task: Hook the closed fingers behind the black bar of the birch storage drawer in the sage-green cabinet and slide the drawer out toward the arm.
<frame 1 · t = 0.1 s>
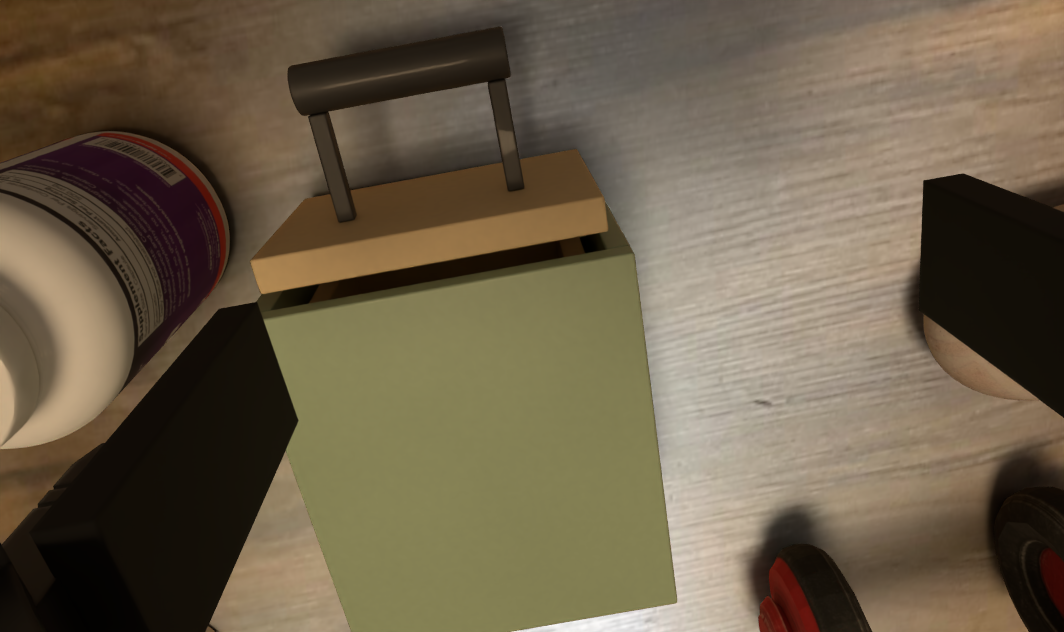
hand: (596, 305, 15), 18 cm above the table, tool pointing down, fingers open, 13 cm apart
decorative stone: (1032, 276, 35), on the table
cabinet: (483, 356, 35), on the table
headphones: (897, 546, 41), on the table
drawer: (457, 300, 29), point 5 cm above the table, slide at 0.5 cm
pill bottle: (142, 221, 32), on the table
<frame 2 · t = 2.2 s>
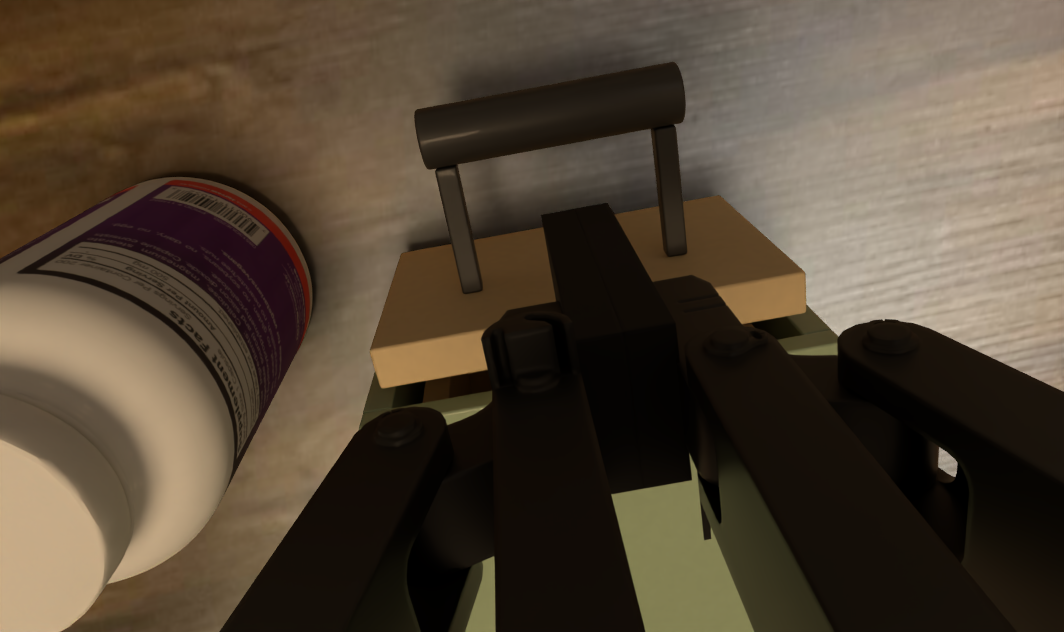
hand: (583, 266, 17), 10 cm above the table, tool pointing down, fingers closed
cabinet: (591, 424, 31), on the table
drawer: (589, 377, 24), point 5 cm above the table, slide at 0.5 cm
pill bottle: (209, 276, 28), on the table
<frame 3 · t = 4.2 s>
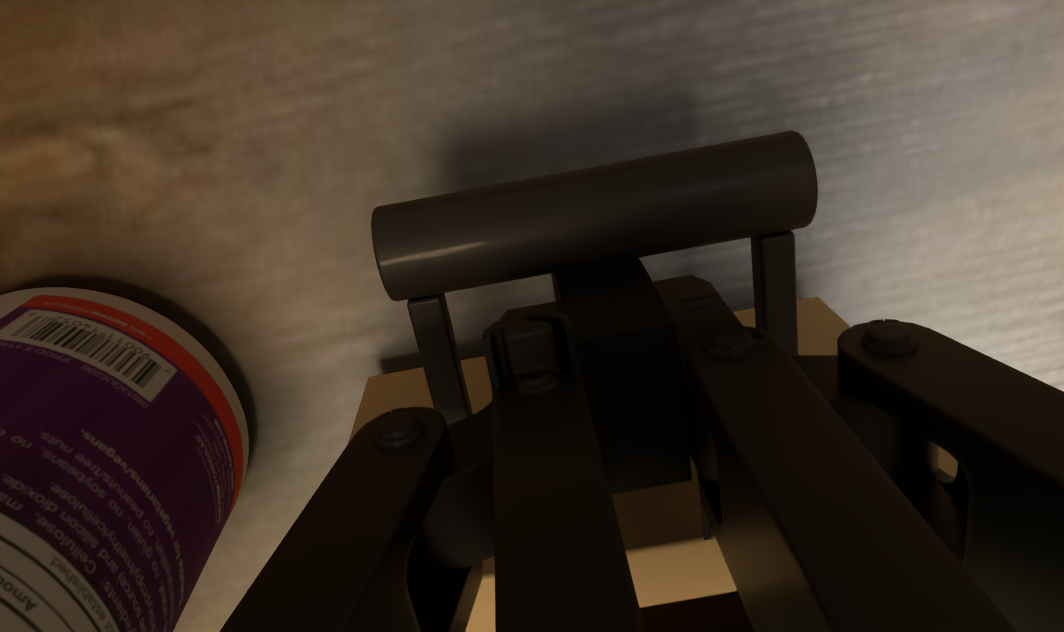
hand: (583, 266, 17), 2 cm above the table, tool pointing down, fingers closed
drawer: (638, 572, 17), point 5 cm above the table, slide at 0.8 cm, touching gripper
pill bottle: (109, 410, 20), on the table
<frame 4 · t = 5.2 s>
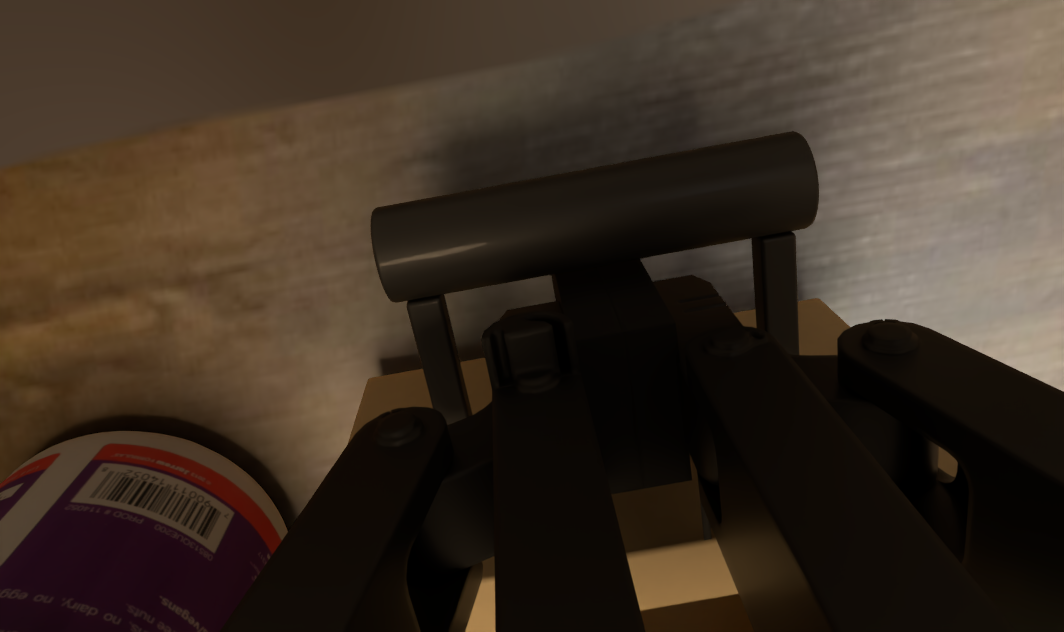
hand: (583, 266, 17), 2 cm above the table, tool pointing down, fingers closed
drawer: (639, 574, 17), point 5 cm above the table, slide at 4.8 cm, touching gripper
pill bottle: (163, 530, 22), on the table
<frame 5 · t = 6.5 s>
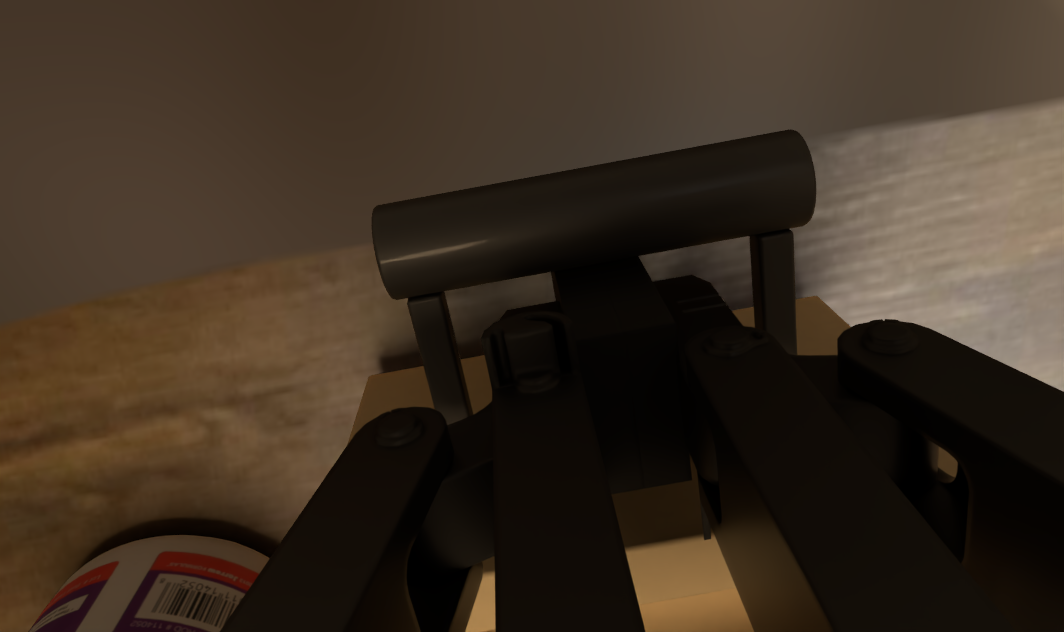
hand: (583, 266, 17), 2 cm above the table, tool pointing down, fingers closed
drawer: (638, 570, 17), point 5 cm above the table, slide at 8.3 cm, touching gripper
pill bottle: (206, 617, 23), on the table
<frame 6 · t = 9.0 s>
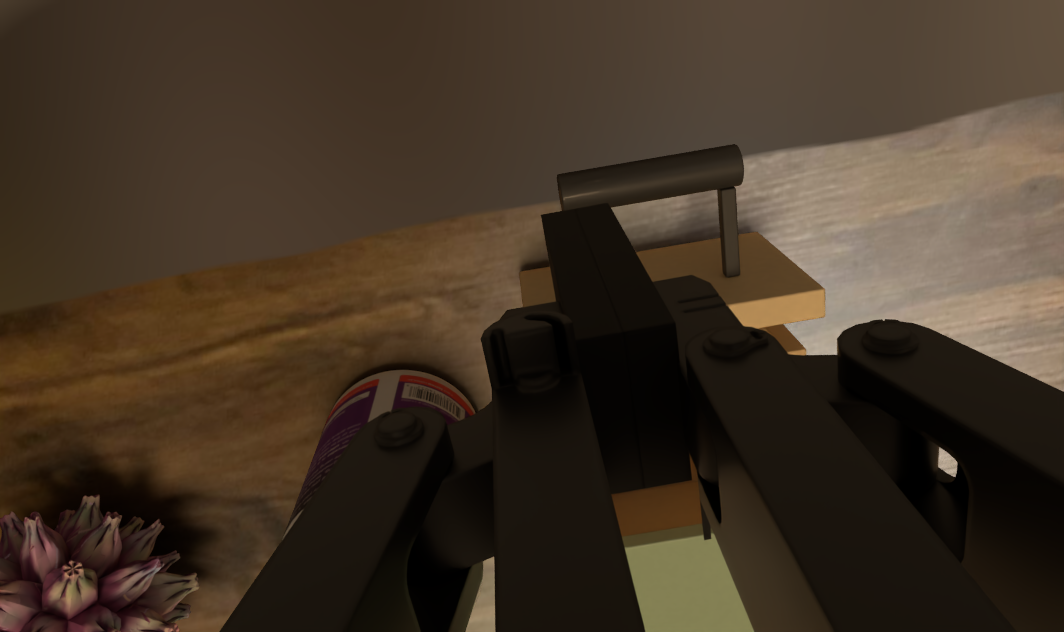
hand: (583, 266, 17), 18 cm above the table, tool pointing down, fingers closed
cabinet: (665, 527, 43), on the table
flower: (120, 541, 41), on the table
drawer: (663, 364, 33), point 5 cm above the table, slide at 8.6 cm
pill bottle: (407, 428, 40), on the table
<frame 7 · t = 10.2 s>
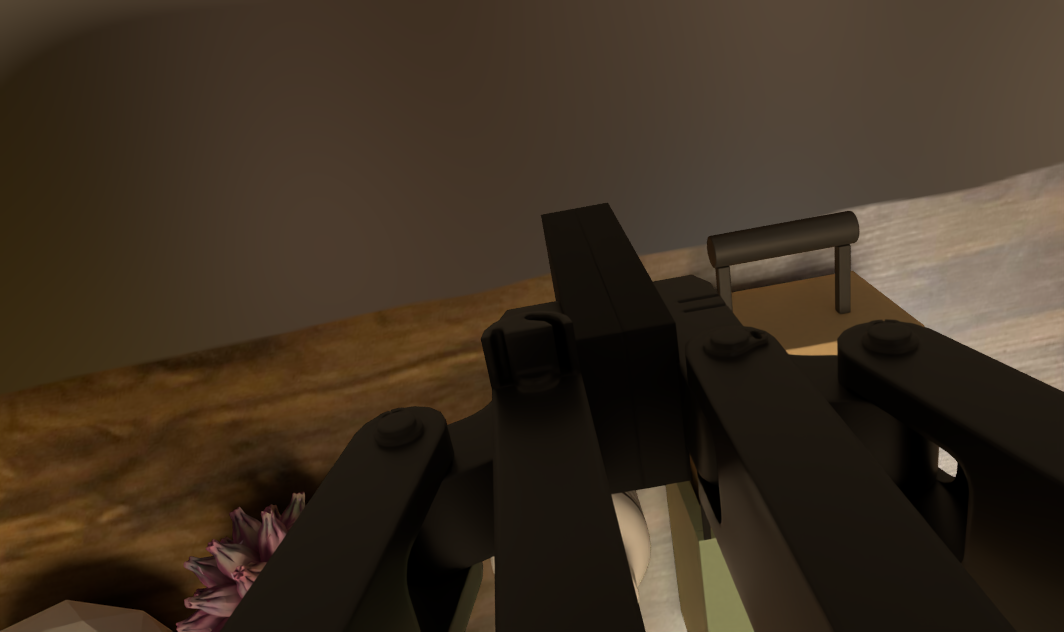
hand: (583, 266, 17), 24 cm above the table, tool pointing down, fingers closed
cabinet: (763, 514, 51), on the table
flower: (307, 530, 49), on the table
drawer: (781, 382, 41), point 5 cm above the table, slide at 8.6 cm
pill bottle: (552, 433, 47), on the table
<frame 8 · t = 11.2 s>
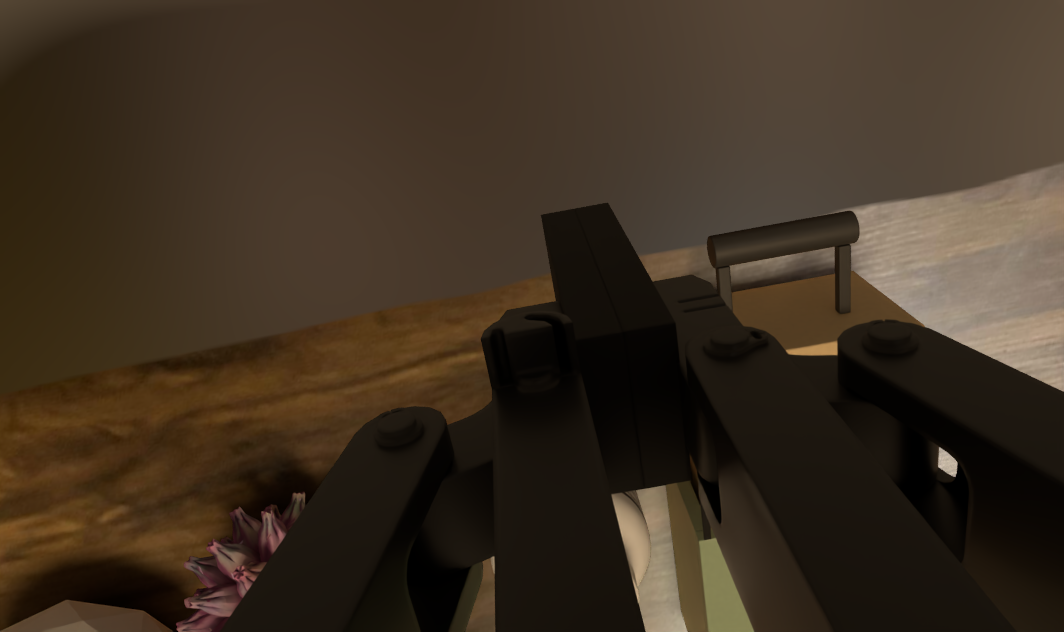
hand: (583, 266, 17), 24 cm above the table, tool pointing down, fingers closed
cabinet: (763, 514, 51), on the table
flower: (307, 530, 49), on the table
drawer: (781, 382, 41), point 5 cm above the table, slide at 8.6 cm
pill bottle: (552, 433, 47), on the table
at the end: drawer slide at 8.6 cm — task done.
